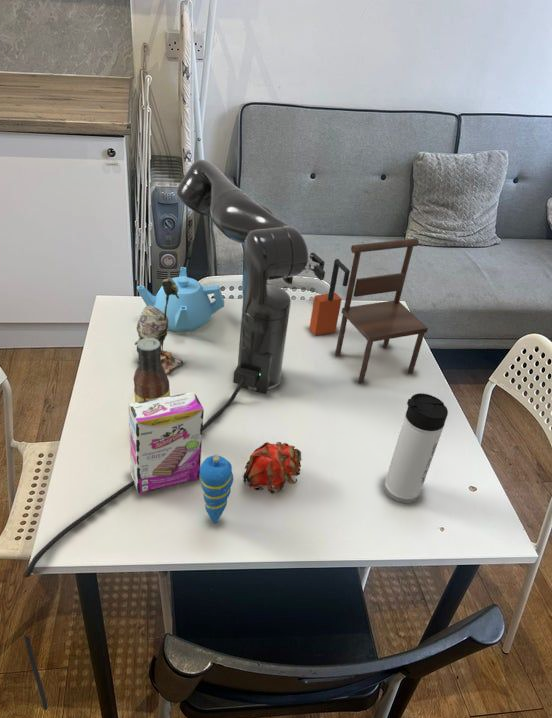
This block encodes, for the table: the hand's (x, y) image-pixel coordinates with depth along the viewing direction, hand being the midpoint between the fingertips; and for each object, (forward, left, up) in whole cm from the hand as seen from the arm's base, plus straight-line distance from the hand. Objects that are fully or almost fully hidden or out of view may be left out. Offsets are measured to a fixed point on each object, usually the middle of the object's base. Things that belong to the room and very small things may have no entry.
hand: (307, 278), depth 154 cm
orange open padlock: (-10, -9, -8) cm, 15 cm away
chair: (-17, -21, -8) cm, 28 cm away
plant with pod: (-36, +23, -8) cm, 44 cm away
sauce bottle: (-57, +14, -8) cm, 59 cm away
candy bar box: (-67, +7, -8) cm, 68 cm away
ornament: (-73, -4, -8) cm, 73 cm away
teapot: (-18, +25, -8) cm, 32 cm away
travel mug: (-54, -32, -8) cm, 63 cm away
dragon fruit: (-61, -10, -8) cm, 62 cm away
